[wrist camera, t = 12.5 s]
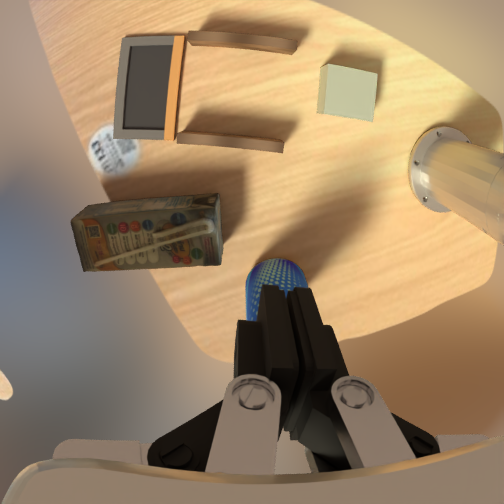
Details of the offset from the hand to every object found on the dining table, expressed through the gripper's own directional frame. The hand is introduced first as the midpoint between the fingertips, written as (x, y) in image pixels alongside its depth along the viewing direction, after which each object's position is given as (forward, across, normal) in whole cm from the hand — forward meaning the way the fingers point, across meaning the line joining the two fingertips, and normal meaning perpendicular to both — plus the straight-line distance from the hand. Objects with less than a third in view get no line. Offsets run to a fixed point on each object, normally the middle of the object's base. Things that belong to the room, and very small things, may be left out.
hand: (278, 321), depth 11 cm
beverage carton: (+32, +12, +9) cm, 35 cm away
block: (+31, -10, -11) cm, 34 cm away
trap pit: (+31, +14, -9) cm, 35 cm away
